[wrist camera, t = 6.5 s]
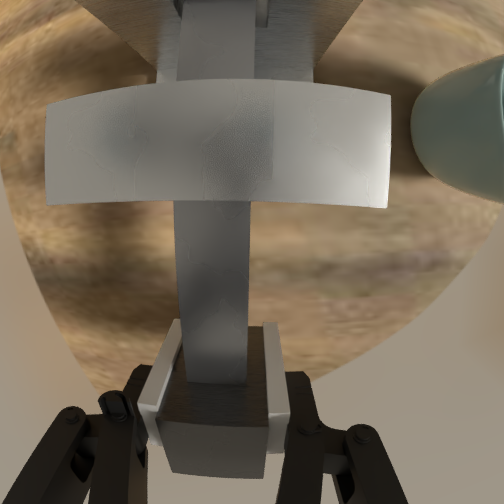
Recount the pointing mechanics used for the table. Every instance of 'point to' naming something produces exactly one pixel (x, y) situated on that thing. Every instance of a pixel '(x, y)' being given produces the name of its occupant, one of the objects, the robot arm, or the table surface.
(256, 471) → the shaft
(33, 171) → the table surface
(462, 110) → the cup
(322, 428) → the robot arm
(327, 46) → the bearing block
